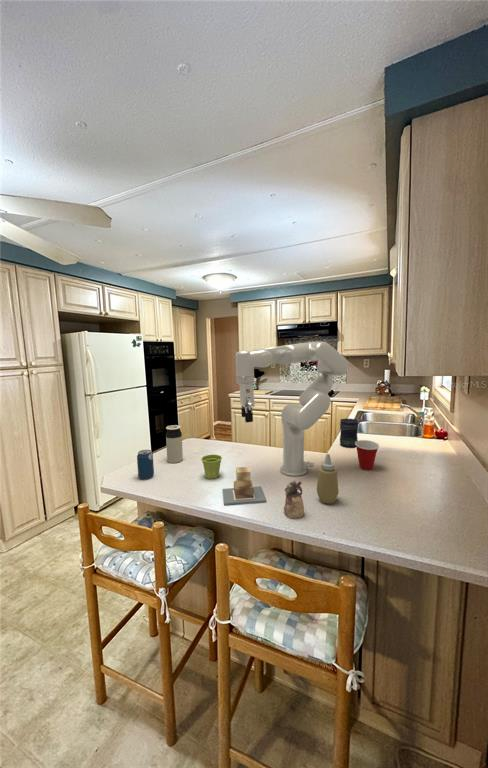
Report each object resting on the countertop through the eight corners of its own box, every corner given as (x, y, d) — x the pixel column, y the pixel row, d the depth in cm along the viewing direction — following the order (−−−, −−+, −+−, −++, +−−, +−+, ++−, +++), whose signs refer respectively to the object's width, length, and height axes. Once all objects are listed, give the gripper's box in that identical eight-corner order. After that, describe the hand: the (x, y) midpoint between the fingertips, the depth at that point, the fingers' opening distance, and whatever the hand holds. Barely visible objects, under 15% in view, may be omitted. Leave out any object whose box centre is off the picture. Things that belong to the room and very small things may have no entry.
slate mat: (261, 488, 128) (261, 485, 128) (266, 502, 116) (266, 500, 116) (222, 490, 126) (222, 488, 126) (224, 505, 114) (224, 503, 114)
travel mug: (175, 464, 156) (173, 429, 154) (163, 461, 160) (162, 427, 158) (186, 459, 163) (184, 426, 160) (174, 456, 167) (173, 424, 165)
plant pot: (219, 481, 135) (218, 462, 134) (198, 479, 137) (198, 461, 136) (224, 472, 144) (224, 455, 143) (205, 471, 146) (205, 453, 145)
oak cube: (248, 481, 124) (248, 466, 123) (250, 486, 119) (250, 471, 118) (236, 482, 123) (236, 467, 122) (237, 487, 118) (237, 472, 117)
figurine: (286, 506, 113) (286, 475, 112) (305, 510, 110) (305, 477, 109) (281, 516, 106) (281, 483, 105) (301, 520, 104) (302, 486, 102)
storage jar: (345, 441, 187) (346, 417, 185) (360, 445, 180) (361, 420, 178) (336, 445, 181) (336, 420, 179) (351, 449, 173) (352, 423, 172)
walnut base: (251, 489, 125) (251, 479, 125) (253, 497, 118) (253, 487, 118) (233, 490, 124) (233, 481, 124) (235, 499, 117) (235, 489, 117)
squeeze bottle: (322, 493, 123) (322, 449, 120) (341, 499, 117) (342, 453, 115) (312, 501, 116) (313, 455, 114) (333, 508, 111) (333, 460, 109)
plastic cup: (359, 472, 141) (360, 447, 140) (350, 464, 152) (351, 440, 151) (383, 472, 142) (383, 446, 140) (372, 463, 152) (373, 439, 151)
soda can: (157, 475, 142) (155, 450, 141) (145, 481, 136) (143, 455, 135) (147, 472, 146) (145, 448, 145) (135, 478, 140) (133, 452, 139)
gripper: (258, 381, 124) (259, 423, 126) (250, 377, 141) (251, 414, 143) (239, 383, 122) (241, 425, 125) (234, 378, 139) (235, 415, 142)
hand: (247, 419), depth 134 cm, fingers open, 9 cm apart
